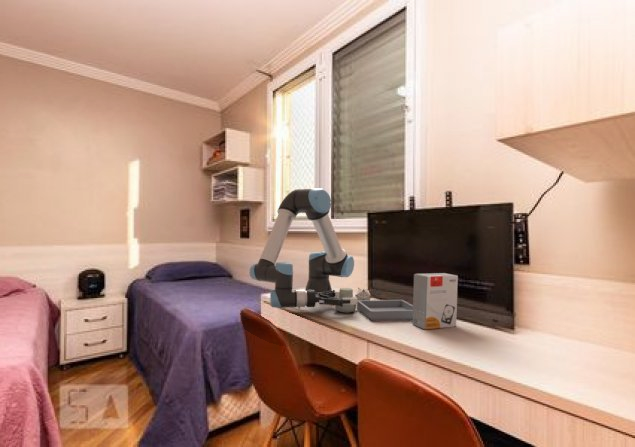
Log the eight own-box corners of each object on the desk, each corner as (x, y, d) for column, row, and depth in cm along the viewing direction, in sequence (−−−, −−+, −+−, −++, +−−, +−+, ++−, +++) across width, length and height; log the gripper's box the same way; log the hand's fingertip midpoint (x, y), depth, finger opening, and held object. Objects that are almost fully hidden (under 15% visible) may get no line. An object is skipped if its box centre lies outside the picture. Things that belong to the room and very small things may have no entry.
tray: (356, 309, 156) (356, 300, 156) (402, 308, 159) (402, 299, 159) (370, 321, 136) (371, 311, 136) (422, 320, 140) (422, 310, 140)
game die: (365, 313, 164) (365, 299, 158) (351, 304, 168) (351, 290, 162) (375, 302, 169) (376, 288, 163) (361, 293, 173) (362, 279, 167)
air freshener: (338, 307, 158) (339, 286, 158) (356, 309, 156) (357, 287, 156) (334, 313, 147) (334, 290, 147) (353, 315, 145) (353, 291, 145)
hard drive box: (424, 330, 125) (425, 276, 126) (411, 324, 132) (412, 273, 133) (457, 326, 131) (458, 275, 131) (443, 321, 138) (444, 272, 138)
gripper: (302, 300, 161) (345, 300, 164) (309, 314, 136) (360, 313, 140) (302, 284, 161) (346, 284, 165) (310, 295, 136) (361, 294, 140)
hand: (352, 297), depth 152 cm, fingers open, 13 cm apart
